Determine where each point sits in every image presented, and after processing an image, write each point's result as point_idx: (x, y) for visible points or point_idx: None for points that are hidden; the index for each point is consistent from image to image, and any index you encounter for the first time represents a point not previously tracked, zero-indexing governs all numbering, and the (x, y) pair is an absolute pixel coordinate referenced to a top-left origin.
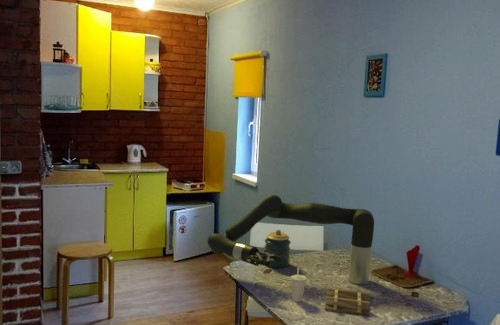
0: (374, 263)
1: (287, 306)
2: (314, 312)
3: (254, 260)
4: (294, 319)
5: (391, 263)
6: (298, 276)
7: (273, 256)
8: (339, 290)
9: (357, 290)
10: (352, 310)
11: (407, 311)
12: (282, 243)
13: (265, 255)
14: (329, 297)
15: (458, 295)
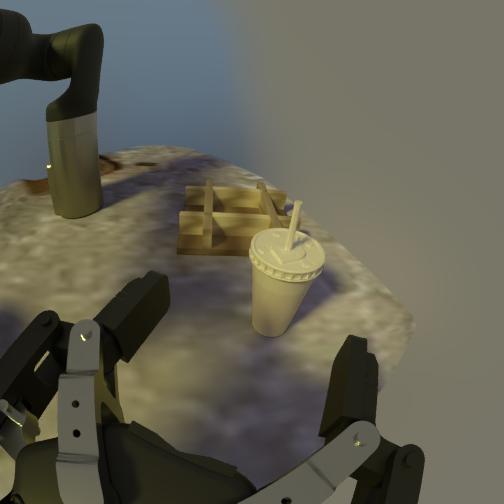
0: (5, 194)
1: (343, 341)
2: (330, 275)
3: (412, 491)
4: (401, 308)
5: (15, 181)
6: (283, 247)
7: (108, 344)
8: (212, 210)
9: (192, 190)
10: (280, 214)
11: (224, 172)
12: None
13: (132, 431)
14: (279, 226)
15: (145, 146)
